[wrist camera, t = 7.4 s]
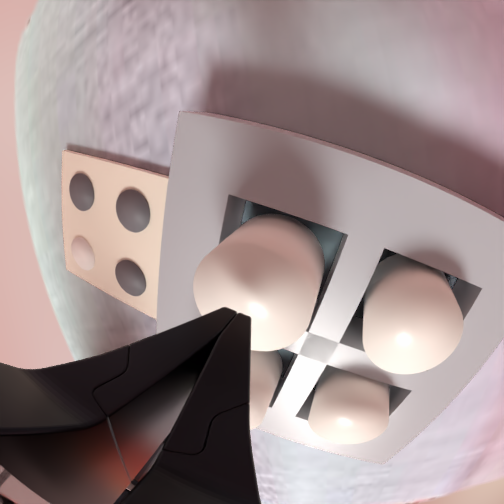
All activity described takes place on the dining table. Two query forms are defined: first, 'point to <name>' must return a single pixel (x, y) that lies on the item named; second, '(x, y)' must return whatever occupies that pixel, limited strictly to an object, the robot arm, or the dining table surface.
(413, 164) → the dining table surface
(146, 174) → the card
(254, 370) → the button
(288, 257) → the button
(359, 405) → the button
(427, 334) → the button
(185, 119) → the board
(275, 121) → the dining table surface
